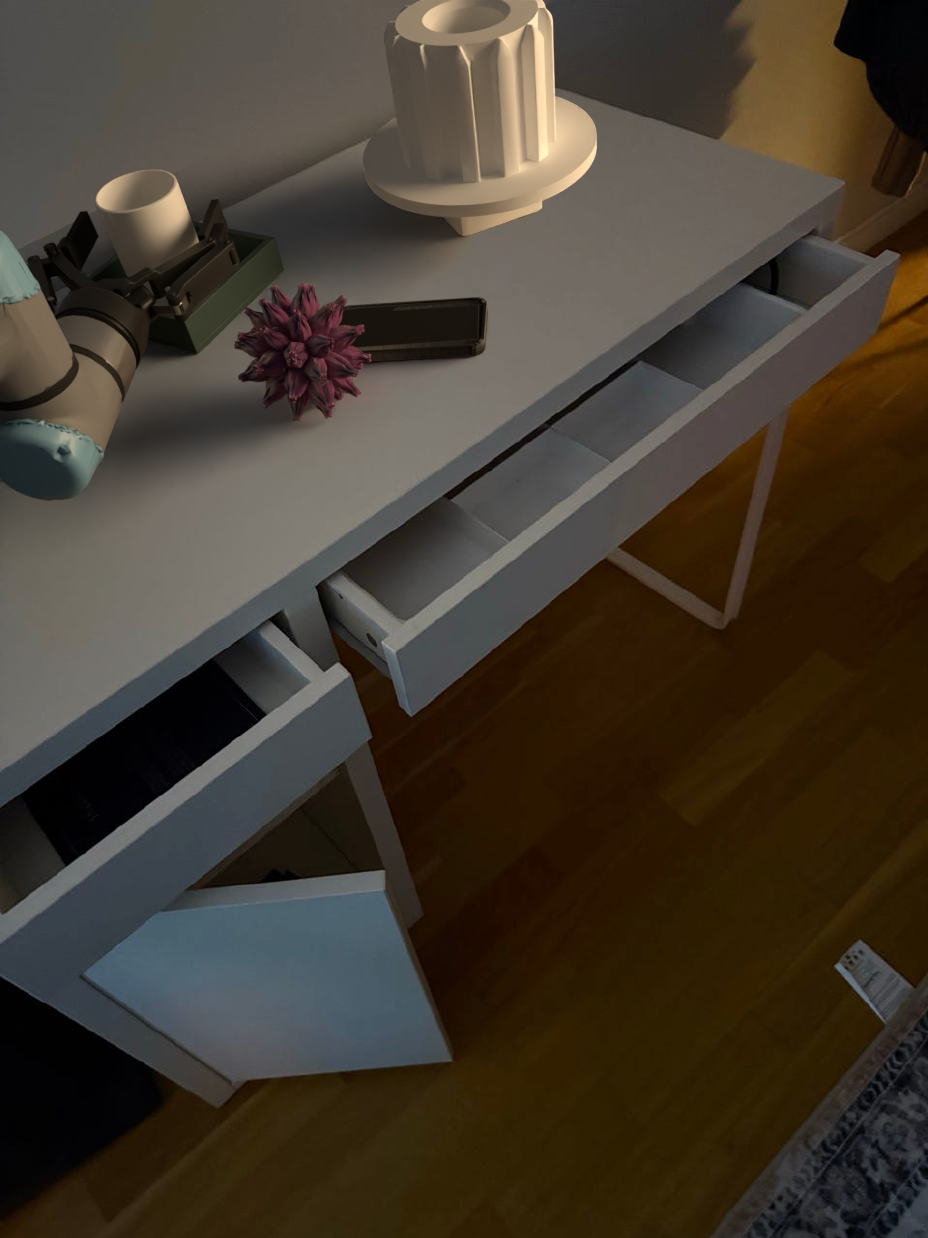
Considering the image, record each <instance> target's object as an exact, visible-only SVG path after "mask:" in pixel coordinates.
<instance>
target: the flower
mask: <svg viewBox="0 0 928 1238" xmlns="http://www.w3.org/2000/svg"><path fill="white" fill-rule="evenodd" d="M297 285H298V286H297V292H296V293H295V295H294V296H293V298H292V299H290V298H289V296H287V295H286V294H284V293H283V292H282V291H281V290H280V288H279V286H278V285H277V284H274V285H272V286H269V290H270V294H271V298H270V299H271V300H270V302H269V300H267V298H265V297H262V298H258V302H257V303H258V305H259V306H260V308H261V310H262V311H256V310H253V309H251V308H250V307H248V306H247V307H245V309H244V311H243V313H244V314H245V316H247V317H248V318H249V320H250V322H251V324H252V328H251V329H250V331H247V332H242V331H238V334H237V338H236V340H235V341H234V344H233V346H234V348H233V349H236V350H241V351H243V352H244V353H246V354H247V355H248V356H250V357H251V358H255V359H253V360H252V361H251V362H250V363H249V364H248V366H247V368H246V369H245V370H244V371H243V372H241V373H239V374H238V375H237V379H238V381H241V382H242V383H246V382H255V383H264V382H266V383H265V390H264V395H263V397H262V398H261V400H260V403H261V405H263V406H264V409H268V408H269V407H270V406H272V405H273V403H276V402H278V401H280V400H282V399H283V398H285V396H286V401H287V405H288V406H289V409H290V411H291V421H292V422H296V421H297V422H299V421H301V417H302V416H303V414H304V411H305V410H306V408H307V407H308V405H309V403H311V404H312V405H313V406H314V407H315V408H316V409H317V410H318V411H319V412H321V413H322V415H323V417H324V419H327V420H328V418H332V417H333V413H332V410H333V409H335V402H334V400H335V401H338V402H339V401H342V400H343V398H344V397H345V395H344V394H348V395H350V396H352V397H354V398H356V399H357V398H358V396H359V395H361V394H362V391H361V390H360V389H359V388H358V387H357V386H356V385H355V384H354V382H353V380H352V378H357V376H358V375H359V370H363V368H364V367H363V366H364V363H371V362H372V361H371V354H366V353H363V352H362V351H360V350H359V349H357V348H355V347H353V346H350V345H351V344H352V343H353V342H354V340H355V339H356V338H357V336H359V335H361V333H363V332H364V328H363V327H364V325H358V326H348V325H342V326H339V324H340V322H341V320H342V314H343V308H344V306H346V304H347V303H348V299H347V298H345V297H344V295H342V294H341V295H339V296H338V297H337V299H336V300H334V301H331V302H328V303H326V304H324V305H322V306H321V307H320V302H319V298H318V297H317V294H316V285H315V283H312V284H310V283H307V282H306V283H302V282H300V283H299V284H297Z"/></svg>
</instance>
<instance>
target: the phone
mask: <svg viewBox="0 0 928 1238" xmlns="http://www.w3.org/2000/svg"><path fill="white" fill-rule="evenodd" d="M488 312H489V311H488V302H487V300H486V299H485V298H483V297H480V296H472V297H457V298H441V299H426V300H411V301H409V300H408V301H395V302H393V301H392V302H379V303H362V304H349V305H348V304H347V305H345V306H344V308H343V314H342V320H341V322H340V324H339V326H342V325H348V326H358V325H364V327H363V328H364V332H363V333H361V335H359V336H357V338H356V339H355V340H354V342H353V343H352V344H351V345H350V346H353V347H355V348H357V349H359V350H360V351H362V352H363V353H366V354H371V362H385V361H401V360H403V361H405V360H421V359H422V360H423V359H437V358H440V359H441V358H456V357H457V358H458V357H459V358H460V357H473V356H474V357H475V356H478V355H480V354H482V353H483V352H484V351H485V350H486V343H487V329H488V314H489V313H488Z"/></svg>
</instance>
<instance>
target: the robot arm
mask: <svg viewBox="0 0 928 1238" xmlns="http://www.w3.org/2000/svg"><path fill="white" fill-rule="evenodd" d="M202 219H203V220H202V222H201V223H202V224H201V227H200V229H199V232H198V234H197V237H198V240H199V242H198V243H196V244H195V245H193V246H191V247H190V248H188V249H186V250H185V251H183V252H181V253H180V254H178V255H176V256H175V257H173V258H171V259H170V260H168V261H166V262H165V263H163V264H161V265H160V266H158V267H156V268H155V269H151V268H149V267H146V268H144V269H142V270H141V271H139V272H137V273H136V274H134V275H132V276H130V277H123V278H118V279H113V278H105V279H101V281H98V282H96V283H95V282H94V281H92V280H91V279H90V278H89V277H88V276H89V275H87V274H86V273H85V272H82V270H83V268H84V266H85V264H86V262H87V261H88V258H89V256H90V254H91V253H92V251H93V249H94V247H95V245H96V243H97V242H98V239H99V233H98V231H97V230H96V226H95V225H94V223H93V220H92V218H91V216H90V214H89V212H88V210H83V211H82V210H80V211H79V212H78V214H77V216H76V218H75V220H74V222H73V223H72V225H71V227H70V229H69V230H68V232H67V234H66V236H63V237H62V238H61V239H60V240H59V241H58V243H55V242H47V243H46V244H44V245H43V247H42V248H43V250H44V252H45V254H46V257H44V258H41V257H40V255H37V254H35V255H30V256H29V257H28V258H27V259H26V262H27V264H26V262H25V260H24V258H23V257H22V256H21V253H20V252H19V251H18V249H17V248H16V247H15V245H14V244H13V242H12V241H11V239H10V237H9V236H8V235H6V233H5V232H4V231H2V230H1V229H0V481H1V482H2V483H4V484H5V485H6V486H7V487H9V488H11V489H12V490H14V491H16V492H18V493H19V494H22V495H24V496H26V497H29V498H32V499H37V500H40V501H48V502H50V501H65V500H69V499H72V498H74V497H76V496H78V495H80V494H81V493H83V491H84V490H85V489H86V488H87V487H88V486H89V484H90V481H91V480H92V478H93V476H94V474H95V473H96V470H97V468H98V467H99V465H101V463H102V462H103V461H104V457H105V451H106V448H107V445H108V444H109V443H108V442H109V440H110V438H111V434H112V432H113V429H114V427H115V424H116V422H117V420H118V417H119V414H120V411H121V409H122V406H123V403H124V402H125V399H126V396H127V394H128V391H129V390H130V388H131V384H132V382H133V379H134V377H135V374H136V370H137V369H138V367H139V365H140V363H141V360H142V358H143V355H144V353H145V350H146V348H147V346H148V342H149V341H148V335H149V326H150V324H151V323H152V322H153V321H154V320H155V319H156V318H157V317H158V316H159V314H173V316H174V318H175V321H176V322H179V323H181V322H185V321H186V320H187V319H188V318H189V316H190V314H191V312H192V311H193V309H194V307H195V306H196V305H197V304H199V303H200V302H201V301H202V300H203V299H204V298H205V297H206V296H207V295H209V294H210V293H211V292H212V291H213V290H214V289H215V288H216V287H217V286H219V285H220V284H221V283H222V282H223V281H224V280H225V279H226V278H227V277H229V276H230V275H231V274H232V273H233V272H234V271H235V270H236V269H237V268H239V267H240V265H241V264H240V261H239V258H238V255H237V252H236V249H235V246H234V243H233V240H232V239H229V238H228V235H227V232H226V228H228V223H227V220H226V217H225V214H224V210H223V208H222V205H221V202H220V199H219V198H215V199H210V202H209V204H208V206H207V209H206V211H205V214H204V218H202ZM55 277H57V278H58V280H59V281H61V282H62V284H63V285H64V286H65V287H66V288H68V290H69V292H70V291H71V293H69V292H68V293H69V294H68V293H67V294H66V296H65V297H64V298H63V299H62V301H61V302H60V301H58V297H57V293H56V290H55V287H54V284H53V283H54V282H53V280H52V278H55ZM147 281H148V282H149V285H150V287H151V289H152V291H153V294H154V296H153V294H152V293H151V292H150V291H149V290H148V288H147V287H146V286H145V285H144V283H146V282H147Z"/></svg>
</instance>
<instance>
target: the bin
mask: <svg viewBox="0 0 928 1238" xmlns="http://www.w3.org/2000/svg"><path fill="white" fill-rule="evenodd" d="M192 223H193V225H194V228H195V231H196V234H198V232H199V229H200V227H201V224H202V222H199V221H195V220H192ZM226 232H227V235H228V238H229V239H232V240H233V243H234V246H235V249H236V252H237V255H238V258H239V261H240V264H241V265H240V267H239V268H237V269H236V270H235V271H234V272H233V273H232V274H231V275H230V276H229V277H227V278H226V279H225V280H224V281H223V282H222V283H221V284H220V285H219V286H217V287H216V288H215V289H214V290H213V291H212V292H211V293H210V294H209V295H207V296H206V297H205V298H204V299H203V300H202V301H201V302H200V303H199V304H197V305H196V306H195V307H194V309H193V311H192V312H191V314H190V316H189V318H188V319H187V320H186V321H185V322H181V323H179V322H176V321H175V318H174V316H173V314H159V316H158V317H157V318H156V319H155V320H154V321H153V322H152V323H151V324H150V326H149V335H148V342H150V343H153V344H157V345H160V346H161V345H162V346H164V347H169V348H172V349H176V350H180V351H184V352H187V353H191V354H195V355H199V354H200V353H201V352H202V351H203V350H204V349H205V348H206V347H207V346H208V345H209V344H210V343H211V342H212V341H213V340H214V339H215V338H216V337H218V335H219V334H220V333H221V332H222V331H224V330H225V328H226V327H227V326H229V324H231V323H232V321H234V320H235V319H236V318H237V317H238V316H239V315H240V314H241V313H242V312H244V311H245V307H248V306H249V305H250V304H251V303H252V302H253V301H254V300H255V299H256V298H257V297H258V296H260V294H261V293H262V292H263V291H264V290H266V288H267V287H268V286H270V284H272V283H273V281H275V280H276V279H277V278H278V277H279V276H280V275H281V274H282V273H283V272H284V271H285V266H284V262H283V260H282V256H281V253H280V249H279V246H278V242H277V239H276V236H272V235H266V234H261V233H255V232H250V231H246V230H240V229H237V228H236V229H235V228H230V227H226ZM87 276H88V277H89V278H90V279H91V280H92V281H94V282H95V283H96V282H98V281H101V279H105V278H113V279H118V278H123V277H127V275H126V273H125V271H124V268H123V266H122V264H121V262H120V259H119V257H118V255H117V253H116V252H115V254H113V255H112V256H111V257H110V258H108V259H107V260H106V261H105V262H104V263H103V264H101V265H100V266H99V267H98V268H96V269H95V270H94V271H93V272H91V273H90V274H89V275H87ZM69 293H71V291H70V290H69V291H68V292H67V295H68V294H69Z"/></svg>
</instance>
